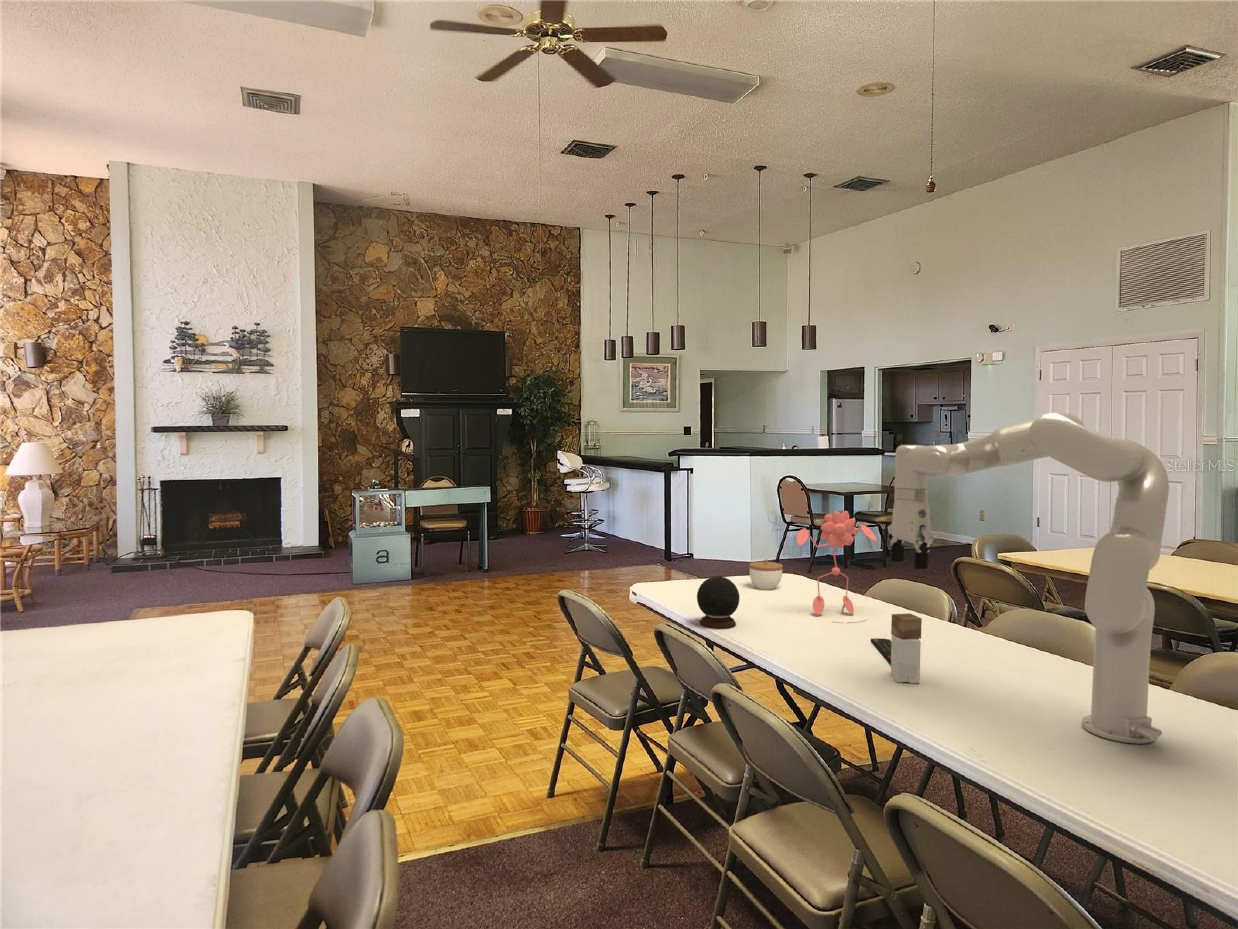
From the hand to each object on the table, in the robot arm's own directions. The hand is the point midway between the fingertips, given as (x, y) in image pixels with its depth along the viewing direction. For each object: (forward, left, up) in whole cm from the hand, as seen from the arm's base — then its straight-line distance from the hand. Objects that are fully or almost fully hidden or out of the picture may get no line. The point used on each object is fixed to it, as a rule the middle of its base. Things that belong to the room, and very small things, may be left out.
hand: (908, 564), depth 185 cm
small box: (0, 0, -28) cm, 29 cm away
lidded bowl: (+104, -8, -28) cm, 108 cm away
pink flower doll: (+58, -13, -28) cm, 66 cm away
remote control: (+19, -8, -29) cm, 36 cm away
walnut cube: (0, 0, -18) cm, 18 cm away
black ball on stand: (+56, +29, -28) cm, 69 cm away
